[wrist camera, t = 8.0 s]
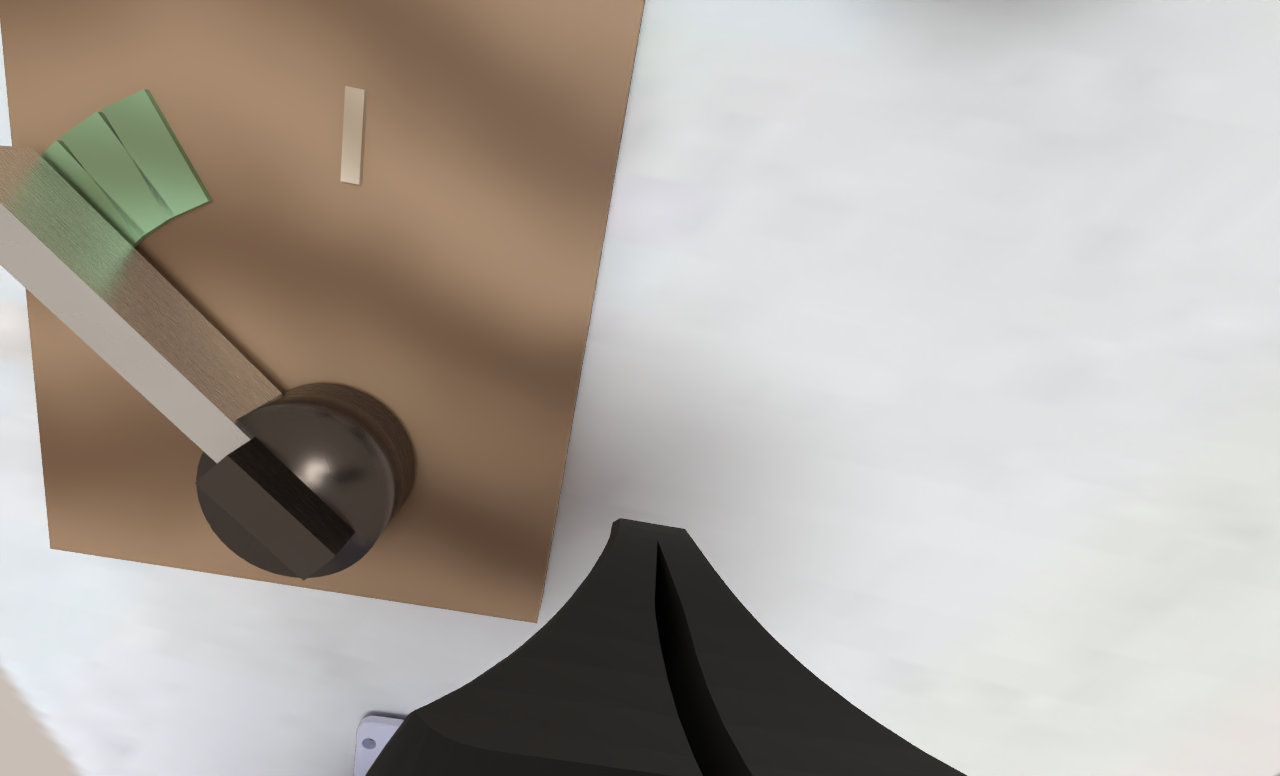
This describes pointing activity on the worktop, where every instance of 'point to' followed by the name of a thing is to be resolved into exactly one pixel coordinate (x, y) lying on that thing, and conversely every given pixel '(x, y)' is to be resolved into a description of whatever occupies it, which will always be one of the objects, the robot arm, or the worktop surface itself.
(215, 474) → the silver lever on base
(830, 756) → the robot arm
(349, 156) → the dial board
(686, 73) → the worktop surface
